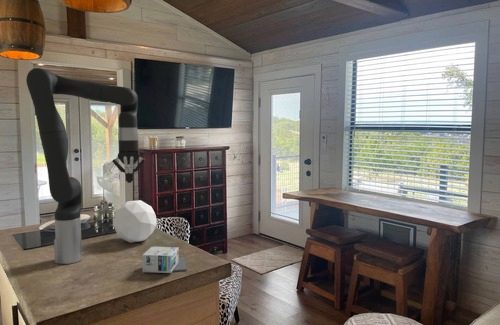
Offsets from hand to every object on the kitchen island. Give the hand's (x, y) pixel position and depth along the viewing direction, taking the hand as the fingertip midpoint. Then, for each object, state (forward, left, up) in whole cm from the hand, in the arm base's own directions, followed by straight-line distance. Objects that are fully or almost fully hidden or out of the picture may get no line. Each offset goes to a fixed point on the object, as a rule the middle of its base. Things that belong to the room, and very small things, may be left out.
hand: (129, 182), depth 156 cm
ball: (0, +24, -31) cm, 39 cm away
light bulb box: (+6, -14, -27) cm, 31 cm away
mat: (+15, -12, -31) cm, 36 cm away
